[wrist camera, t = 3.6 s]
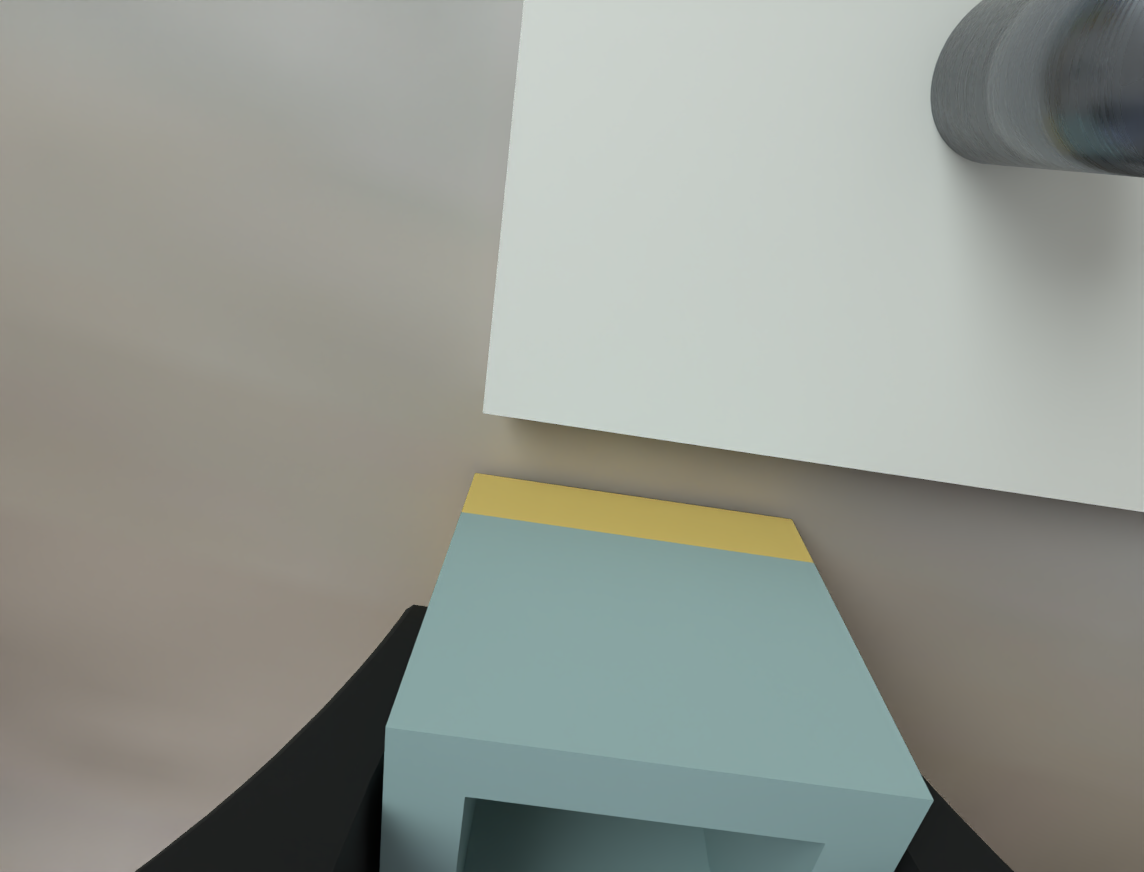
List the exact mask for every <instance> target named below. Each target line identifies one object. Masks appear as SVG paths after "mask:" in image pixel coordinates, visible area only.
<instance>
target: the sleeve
mask: <svg viewBox="0 0 1144 872" xmlns="http://www.w3.org/2000/svg"><path fill="white" fill-rule="evenodd" d="M933 801H934V800H933V798H932V796H931V794H930V792H929V790H928V788H927V786H926V784H925V782H924V780H923V778H922V776H921V774H920V772H919V770H918V768H917V766H916V764H915V762H914V760H913V758H912V756H911V754H910V752H909V750H908V748H907V746H906V744H905V742H904V740H903V738H902V736H901V734H900V732H899V731H898V729H897V727H896V725H895V723H894V721H893V719H892V717H891V715H890V713H889V711H888V709H887V707H886V705H885V703H884V701H883V699H882V697H881V695H880V693H879V691H878V689H877V687H876V685H875V683H874V681H873V679H872V677H871V675H870V673H869V671H868V669H867V667H866V665H865V663H864V661H863V659H862V657H861V655H860V653H859V651H858V649H857V647H856V645H855V644H854V642H853V640H852V638H851V636H850V634H849V632H848V630H847V628H846V626H845V624H844V622H843V620H842V618H841V616H840V614H839V612H838V610H837V608H836V606H835V604H834V602H833V600H832V598H831V596H830V594H829V592H828V590H827V588H826V586H825V584H824V582H823V580H822V578H821V576H820V574H819V572H818V570H817V568H816V566H815V564H814V562H813V560H812V559H811V557H810V555H809V553H808V551H807V549H806V547H805V545H804V543H803V541H802V539H801V537H800V535H799V533H798V531H797V529H796V527H795V525H794V523H793V521H792V519H785V518H778V517H772V516H765V515H758V514H751V513H744V512H738V511H731V510H724V509H717V508H710V507H703V506H697V505H690V504H683V503H676V502H669V501H662V500H656V499H649V498H642V497H635V496H628V495H621V494H615V493H608V492H601V491H594V490H587V489H580V488H574V487H567V486H560V485H553V484H546V483H539V482H533V481H526V480H519V479H512V478H505V477H498V476H492V475H485V474H478V473H475V475H474V478H473V481H472V484H471V487H470V489H469V492H468V495H467V498H466V501H465V504H464V506H463V509H462V512H461V515H460V518H459V521H458V523H457V526H456V529H455V532H454V535H453V538H452V540H451V543H450V546H449V549H448V552H447V555H446V557H445V560H444V563H443V566H442V569H441V572H440V574H439V577H438V580H437V583H436V586H435V589H434V591H433V594H432V597H431V600H430V603H429V606H428V608H427V611H426V614H425V617H424V620H423V623H422V625H421V628H420V631H419V634H418V637H417V640H416V642H415V645H414V648H413V651H412V654H411V657H410V659H409V662H408V665H407V668H406V671H405V674H404V676H403V679H402V682H401V685H400V688H399V690H398V693H397V696H396V699H395V702H394V705H393V707H392V710H391V713H390V716H389V719H388V722H387V724H386V728H385V752H384V776H383V800H382V824H381V848H380V872H894V870H895V869H896V867H897V865H898V863H899V861H900V860H901V858H902V856H903V854H904V853H905V851H906V849H907V847H908V845H909V844H910V842H911V840H912V838H913V837H914V835H915V833H916V831H917V829H918V828H919V826H920V824H921V822H922V820H923V819H924V817H925V815H926V813H927V812H928V810H929V808H930V806H931V804H932V803H933Z"/></svg>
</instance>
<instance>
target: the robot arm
mask: <svg viewBox="0 0 1144 872" xmlns="http://www.w3.org/2000/svg"><path fill="white" fill-rule="evenodd" d="M427 608H428V607H425V606H418V605H413V606H411V607H410V608H408V609H406V610H405V612H404V613H403V615H402V616H401V617H400V619H399V620H398V622H397V623H396V624H395V625H394V627H393V628H392V629H391V631H390V632H389V633H388V635H387V636H386V637H385V638H384V640H383V641H382V642H381V643H380V644H379V646H378V647H377V648H376V649H375V651H374V652H373V653H372V654H371V655H370V656H369V658H368V659H367V660H366V661H365V662H364V663H363V665H362V666H361V667H360V668H359V669H358V670H357V671H356V673H355V674H354V675H353V676H352V677H351V678H350V679H349V680H348V681H347V682H346V684H345V685H344V686H343V687H342V688H341V689H340V690H339V691H338V692H337V693H336V694H335V696H334V697H333V698H332V699H331V700H330V701H329V702H328V703H327V704H326V705H325V706H324V707H323V708H322V709H321V710H320V712H319V713H318V714H317V715H316V716H315V717H314V718H312V719H311V720H310V721H309V722H308V723H307V724H306V725H305V726H304V727H303V728H302V729H301V730H300V731H299V732H298V733H297V734H296V735H295V736H294V737H293V738H292V739H291V740H290V741H289V742H288V743H287V744H286V745H285V746H284V747H283V748H282V749H281V750H280V751H279V752H278V753H277V754H276V755H275V756H274V757H273V758H272V759H271V760H269V761H268V762H267V763H266V764H265V765H264V766H263V767H262V768H261V769H260V770H258V771H257V772H256V773H255V774H254V775H253V776H252V777H251V778H250V779H248V780H247V781H246V782H245V783H244V784H243V785H242V786H241V787H239V788H238V789H237V790H236V791H235V792H234V793H232V794H231V795H230V796H229V797H228V798H227V799H225V800H224V801H223V802H222V803H221V804H220V805H218V806H217V807H216V808H215V809H214V810H213V811H211V812H210V813H209V814H208V815H207V816H205V817H204V818H203V819H202V820H200V821H199V822H198V823H197V824H195V825H194V826H193V827H192V828H190V829H189V830H188V831H186V832H185V833H184V834H183V835H181V836H180V837H179V838H178V839H176V840H175V841H174V842H173V843H171V844H170V845H169V846H168V847H166V848H165V849H164V850H163V851H161V852H160V853H159V854H158V855H156V856H155V857H154V858H152V859H151V860H150V861H148V862H147V863H146V864H144V865H143V866H142V867H141V868H139V869H138V870H137V871H135V872H380V848H381V824H382V800H383V776H384V752H385V728H386V724H387V722H388V719H389V716H390V713H391V710H392V707H393V705H394V702H395V699H396V696H397V693H398V690H399V688H400V685H401V682H402V679H403V676H404V674H405V671H406V668H407V665H408V662H409V659H410V657H411V654H412V651H413V648H414V645H415V642H416V640H417V637H418V634H419V631H420V628H421V625H422V623H423V620H424V617H425V614H426V611H427ZM921 776H922V775H921ZM922 778H923V780H924V782H925V784H926V786H927V788H928V790H929V792H930V794H931V796H932V798H933V800H934V801H933V803H932V804H931V806H930V808H929V810H928V812H927V813H926V815H925V817H924V819H923V820H922V822H921V824H920V826H919V828H918V829H917V831H916V833H915V835H914V837H913V838H912V840H911V842H910V844H909V845H908V847H907V849H906V851H905V853H904V854H903V856H902V858H901V860H900V861H899V863H898V865H897V867H896V869H895V870H894V872H1014V871H1013V870H1012V869H1011V868H1010V867H1009V866H1008V865H1007V864H1006V863H1004V862H1003V861H1002V860H1001V859H1000V858H999V857H998V856H997V855H996V853H995V852H994V851H993V850H992V849H991V848H990V847H989V846H988V845H987V844H986V843H985V842H984V841H983V840H982V839H981V838H980V837H979V836H978V835H977V834H976V833H975V832H974V831H973V830H972V829H971V828H970V827H969V826H968V825H967V824H966V823H965V822H964V820H963V819H962V818H961V817H960V816H959V815H958V814H957V813H956V812H955V811H954V810H953V809H952V808H951V807H950V806H949V805H948V804H947V802H946V801H945V800H944V799H943V798H942V797H941V796H940V795H939V794H938V793H937V792H936V791H935V789H934V788H933V787H932V786H931V785H930V784H929V783H928V782H927V781H926V780H925V778H924V777H923V776H922Z"/></svg>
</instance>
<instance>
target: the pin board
mask: <svg viewBox="0 0 1144 872" xmlns="http://www.w3.org/2000/svg"><path fill="white" fill-rule="evenodd" d="M483 413H486V414H492V415H499V416H506V417H513V418H519V419H526V420H533V421H539V422H546V423H553V424H559V425H566V426H573V427H579V428H586V429H593V430H599V431H606V432H613V433H619V434H626V435H633V436H639V437H646V438H653V439H659V440H666V441H673V442H679V443H686V444H693V445H699V446H706V447H713V448H719V449H726V450H733V451H739V452H746V453H753V454H759V455H766V456H773V457H779V458H786V459H793V460H800V461H806V462H813V463H820V464H826V465H833V466H840V467H846V468H853V469H860V470H866V471H873V472H880V473H886V474H893V475H900V476H906V477H913V478H920V479H926V480H933V481H940V482H946V483H953V484H960V485H966V486H973V487H980V488H986V489H993V490H1000V491H1006V492H1013V493H1020V494H1026V495H1033V496H1040V497H1046V498H1053V499H1060V500H1066V501H1073V502H1080V503H1086V504H1093V505H1100V506H1107V507H1113V508H1120V509H1127V510H1133V511H1140V512H1144V0H524V5H523V15H522V25H521V35H520V45H519V55H518V65H517V75H516V85H515V95H514V105H513V115H512V125H511V135H510V145H509V155H508V165H507V175H506V185H505V195H504V205H503V215H502V226H501V236H500V246H499V256H498V266H497V276H496V286H495V296H494V306H493V316H492V326H491V336H490V346H489V356H488V366H487V376H486V386H485V396H484V406H483Z"/></svg>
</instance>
